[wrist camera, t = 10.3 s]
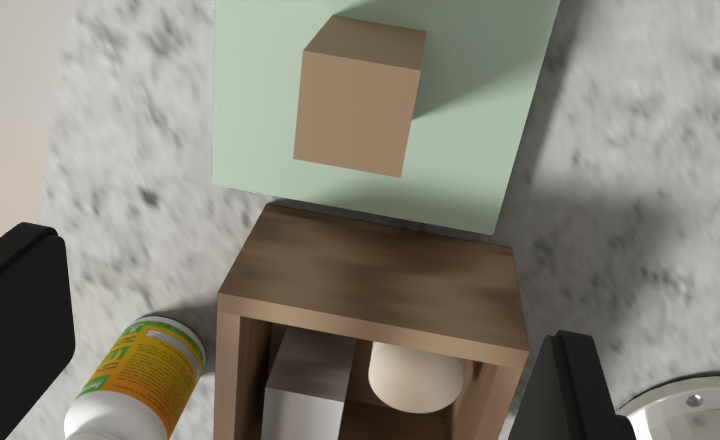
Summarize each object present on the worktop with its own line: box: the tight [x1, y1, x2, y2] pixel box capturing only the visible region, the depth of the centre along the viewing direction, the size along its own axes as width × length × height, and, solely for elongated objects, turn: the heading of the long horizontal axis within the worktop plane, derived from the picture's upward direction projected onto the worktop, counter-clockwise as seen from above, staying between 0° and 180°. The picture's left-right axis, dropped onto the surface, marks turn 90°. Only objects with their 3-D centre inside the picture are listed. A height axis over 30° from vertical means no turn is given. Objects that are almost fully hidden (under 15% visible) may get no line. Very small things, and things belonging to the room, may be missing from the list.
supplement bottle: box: [64, 316, 206, 440], centre depth 34 cm, size 5×5×10 cm
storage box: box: [213, 204, 530, 440], centre depth 32 cm, size 13×13×8 cm
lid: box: [212, 0, 561, 235], centre depth 25 cm, size 14×14×7 cm
